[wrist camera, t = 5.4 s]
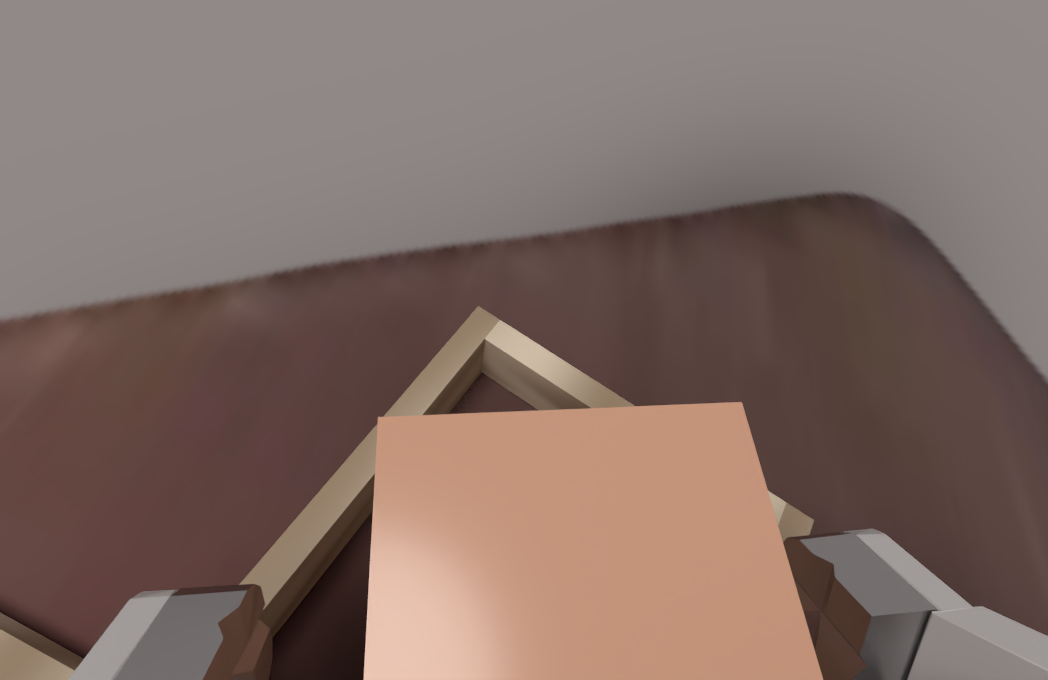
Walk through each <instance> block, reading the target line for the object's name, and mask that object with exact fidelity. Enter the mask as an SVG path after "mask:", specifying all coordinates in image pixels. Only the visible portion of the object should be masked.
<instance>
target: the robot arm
mask: <svg viewBox="0 0 1048 680" xmlns="http://www.w3.org/2000/svg"><path fill="white" fill-rule="evenodd" d="M783 544H784V548H785V551H786V554H787V558H788V561H789V565H790V568H791V571H792V575H793V578H794V582H795V585H796V588H797V592H798V595H799V599H800V602H801V605H802V609H803V612H804V616H805V619H806V622H807V626H808V629H809V633H810V636H811V639H812V643H813V646H814V650H815V653H816V656H817V660H818V663H819V667H820V670H821V673H822V677H823V680H1048V636H1046V635H1044V634H1042V633H1039V632H1037V631H1035V630H1033V629H1031V628H1029V627H1026V626H1024V625H1022V624H1020V623H1018V622H1015V621H1013V620H1011V619H1009V618H1007V617H1005V616H1002V615H1000V614H998V613H996V612H994V611H991V610H989V609H987V608H985V607H983V606H980V607H972V606H971V605H970V604H969V603H967V602H966V601H965V600H964V599H963V598H961V597H960V596H959V595H958V594H957V593H955V592H954V591H953V590H952V589H951V588H949V587H948V586H947V585H946V584H945V583H943V582H942V581H941V580H940V579H939V578H937V577H936V576H935V575H934V574H933V573H931V572H930V571H929V570H928V569H927V568H925V567H924V566H923V565H922V564H921V563H919V562H918V561H917V560H916V559H915V558H913V557H912V556H911V555H910V554H909V553H907V552H906V551H905V550H904V549H903V548H901V547H900V546H899V545H898V544H897V543H895V542H894V541H893V540H892V539H891V538H889V537H888V536H887V535H886V534H884V533H882V532H880V531H877V530H875V529H864V530H854V531H845V532H842V533H841V532H837V533H826V534H816V535H806V536H795V537H787V538H786V539H785V540H784V542H783ZM264 606H265V601H264V597H263V593H262V589H261V586H259V585H256V584H244V585H228V586H212V587H196V588H181V589H180V590H163V591H144V592H141V593H139V594H137V595H136V596H134V597H133V598H131V599H130V600H129V601H128V602H127V603H126V605H125V606H124V607H123V608H122V610H121V611H120V612H119V614H118V615H117V616H116V618H115V619H114V620H113V621H112V623H111V624H110V625H109V627H108V628H107V629H106V631H105V632H104V633H103V634H102V636H101V637H100V638H99V640H98V641H97V642H96V644H95V645H94V646H93V648H92V649H91V650H90V651H89V653H88V654H87V655H86V657H85V658H84V659H83V661H82V662H81V663H80V664H79V666H78V667H77V668H76V670H75V671H74V672H73V674H72V675H71V676H70V677H69V679H68V680H269V675H270V669H271V664H272V637H271V631H270V628H269V627H268V626H267V625H265V624H264V623H263V622H262V621H260V620H259V618H260V616H261V613H262V611H263V609H264Z"/></svg>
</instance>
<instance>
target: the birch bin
mask: <svg viewBox="0 0 1048 680" xmlns="http://www.w3.org/2000/svg"><path fill="white" fill-rule="evenodd" d="M481 373H483V374H485V375H486V376H488V377H489V378H491V379H492V380H494V381H495V382H497V383H498V384H500V385H501V386H503V387H504V388H506V389H507V390H509V391H510V392H512V393H513V394H515V395H516V396H518V397H519V398H521V399H522V400H524V401H525V402H527V403H528V404H530V405H531V406H533V407H534V408H536V409H537V410H562V409H587V408H611V407H635V406H634V405H633V404H631V403H629V402H628V401H626V400H625V399H623V398H622V397H620V396H618V395H617V394H615V393H614V392H612V391H611V390H609V389H607V388H606V387H604V386H603V385H601V384H600V383H598V382H597V381H595V380H593V379H592V378H590V377H589V376H587V375H586V374H584V373H582V372H581V371H579V370H578V369H576V368H575V367H573V366H571V365H570V364H568V363H567V362H565V361H564V360H562V359H560V358H559V357H557V356H556V355H554V354H553V353H551V352H549V351H548V350H546V349H545V348H543V347H542V346H540V345H539V344H537V343H535V342H534V341H532V340H531V339H529V338H528V337H526V336H524V335H523V334H521V333H520V332H518V331H517V330H515V329H513V328H512V327H510V326H509V325H507V324H506V323H504V322H502V321H501V320H499V319H498V318H496V317H495V316H493V315H491V314H490V313H488V312H487V311H485V310H484V309H482V308H481V307H479V306H478V307H477V308H476V310H475V311H474V312H473V313H472V314H471V315H470V317H469V318H468V319H467V320H466V321H465V322H464V324H463V325H462V326H461V327H460V328H459V329H458V330H457V332H456V333H455V334H454V335H453V336H452V337H451V339H450V340H449V341H448V342H447V343H446V344H445V346H444V347H443V348H442V349H441V350H440V351H439V353H438V354H437V355H436V356H435V357H434V358H433V360H432V361H431V362H430V363H429V364H428V365H427V367H426V368H425V369H424V370H423V371H422V372H421V374H420V375H419V376H418V377H417V378H416V379H415V381H414V382H413V383H412V384H411V385H410V386H409V388H408V389H407V390H406V391H405V392H404V393H403V395H402V396H401V397H400V398H399V399H398V400H397V402H396V403H395V404H394V405H393V406H392V407H391V409H390V410H389V411H388V412H387V413H386V414H385V416H384V417H392V416H417V415H441V414H449V413H450V412H451V411H452V410H453V408H454V407H455V406H456V404H457V403H458V402H459V401H460V399H461V398H462V397H463V396H464V394H465V393H466V392H467V390H468V389H469V388H470V387H471V385H472V384H473V383H474V382H475V380H476V379H477V378H478V376H479V375H480V374H481ZM377 427H378V424H377V425H376V426H375V427H374V428H373V430H372V431H371V432H370V433H369V434H368V435H367V437H366V438H365V439H364V440H363V441H362V442H361V444H360V445H359V446H358V447H357V448H356V449H355V451H354V452H353V453H352V454H351V455H350V456H349V457H348V459H347V460H346V461H345V462H344V463H343V464H342V466H341V467H340V468H339V469H338V470H337V471H336V473H335V474H334V475H333V476H332V477H331V478H330V480H329V481H328V482H327V483H326V484H325V485H324V487H323V488H322V489H321V490H320V491H319V492H318V494H317V495H316V496H315V497H314V498H313V499H312V501H311V502H310V503H309V504H308V505H307V506H306V508H305V509H304V510H303V511H302V512H301V513H300V515H299V516H298V517H297V518H296V519H295V520H294V522H293V523H292V524H291V525H290V526H289V527H288V529H287V530H286V531H285V532H284V533H283V534H282V536H281V537H280V538H279V539H278V540H277V541H276V543H275V544H274V545H273V546H272V547H271V548H270V550H269V551H268V552H267V553H266V554H265V555H264V557H263V558H262V559H261V560H260V561H259V562H258V564H257V565H256V566H255V567H254V568H253V569H252V571H251V572H250V573H249V574H248V575H247V576H246V578H245V579H244V580H243V581H242V582H241V583H240V584H239V585H244V584H256V585H259V586H261V589H262V593H263V597H264V601H265V606H264V609H263V611H262V613H261V616H260V618H259V620H260V621H262V622H263V623H264V624H265V625H267V626H268V627H269V628H270V631H271V637H272V638H273V637H274V636H275V635H276V633H277V632H278V631H279V630H280V628H281V627H282V626H283V624H284V623H285V622H286V621H287V619H288V618H289V617H290V616H291V614H292V613H293V612H294V610H295V609H296V608H297V607H298V605H299V604H300V603H301V602H302V600H303V599H304V598H305V596H306V595H307V594H308V593H309V591H310V590H311V589H312V588H313V586H314V585H315V584H316V582H317V581H318V580H319V579H320V577H321V576H322V575H323V574H324V572H325V571H326V570H327V568H328V567H329V566H330V565H331V563H332V562H333V561H334V560H335V558H336V557H337V556H338V555H339V553H340V552H341V551H342V549H343V548H344V547H345V546H346V544H347V543H348V542H349V541H350V539H351V538H352V537H353V535H354V534H355V533H356V532H357V530H358V529H359V528H360V527H361V525H362V524H363V523H364V521H365V520H366V519H367V518H368V516H369V515H370V514H371V513H372V511H373V499H374V481H375V463H376V445H377ZM768 493H769V497H770V500H771V503H772V507H773V510H774V514H775V517H776V520H777V524H778V527H779V531H780V534H781V537H782V541H783V542H784V540H785V539H786V538H787V537H795V536H806V535H809V534H810V531H811V528H812V525H813V522H814V520H813V519H811V518H810V517H808V516H807V515H805V514H803V513H802V512H800V511H799V510H797V509H796V508H794V507H792V506H791V505H789V504H788V503H786V502H785V501H783V500H782V499H780V498H778V497H777V496H775V495H774V494H772V493H771V492H769V491H768Z"/></svg>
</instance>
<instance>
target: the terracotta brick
mask: <svg viewBox="0 0 1048 680" xmlns="http://www.w3.org/2000/svg"><path fill="white" fill-rule="evenodd" d="M364 680H823V677H822V673H821V670H820V667H819V663H818V660H817V656H816V653H815V650H814V646H813V643H812V639H811V636H810V633H809V629H808V626H807V622H806V619H805V616H804V612H803V609H802V605H801V602H800V599H799V595H798V592H797V588H796V585H795V582H794V578H793V575H792V571H791V568H790V565H789V561H788V558H787V554H786V551H785V548H784V544H783V541H782V537H781V534H780V531H779V527H778V524H777V520H776V517H775V514H774V510H773V507H772V503H771V500H770V497H769V493H768V490H767V486H766V483H765V480H764V476H763V473H762V469H761V466H760V463H759V459H758V456H757V452H756V449H755V446H754V442H753V439H752V435H751V432H750V429H749V425H748V422H747V418H746V415H745V412H744V408H743V405H742V402H732V403H708V404H684V405H660V406H635V407H611V408H587V409H562V410H538V411H514V412H489V413H465V414H441V415H417V416H392V417H378V427H377V445H376V463H375V481H374V499H373V517H372V535H371V553H370V571H369V590H368V608H367V626H366V644H365V662H364Z"/></svg>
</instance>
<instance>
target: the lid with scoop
mask: <svg viewBox="0 0 1048 680" xmlns="http://www.w3.org/2000/svg"><path fill="white" fill-rule="evenodd" d="M83 659H84V658H82V657H80V656H78V655H76V654H75V653H73V652H71V651H69V650H67V649H66V648H64V647H62V646H60V645H58V644H56V643H55V642H53V641H51V640H49V639H47V638H46V637H44V636H42V635H40V634H38V633H37V632H35V631H33V630H31V629H29V628H28V627H26V626H24V625H22V624H20V623H18V622H17V621H15V620H13V619H11V618H9V617H8V616H6V615H4V614H2V613H0V680H68V679H69V677H70V676H71V675H72V674H73V672H74V671H75V670H76V668H77V667H78V666H79V664H80V663H81V662H82V661H83Z"/></svg>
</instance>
